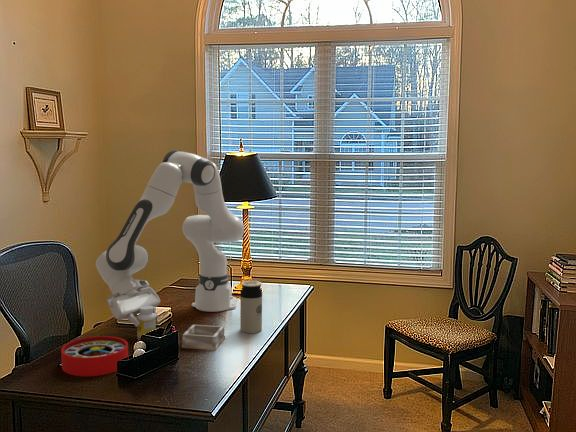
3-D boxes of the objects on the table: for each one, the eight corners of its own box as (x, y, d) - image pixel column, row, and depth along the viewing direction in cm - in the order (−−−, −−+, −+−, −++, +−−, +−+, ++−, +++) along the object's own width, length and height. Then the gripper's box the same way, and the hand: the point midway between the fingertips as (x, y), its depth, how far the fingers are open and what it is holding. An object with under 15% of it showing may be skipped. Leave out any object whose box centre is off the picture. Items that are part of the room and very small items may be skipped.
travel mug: (235, 330, 223) (236, 282, 221) (251, 325, 229) (251, 279, 226) (250, 335, 218) (251, 286, 215) (266, 330, 223) (266, 283, 221)
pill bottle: (138, 336, 215) (138, 304, 213) (157, 335, 215) (156, 304, 214) (135, 342, 208) (135, 309, 207) (154, 342, 209) (154, 309, 207)
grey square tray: (192, 336, 215) (192, 324, 215) (225, 338, 213) (225, 326, 213) (181, 347, 204) (181, 334, 203) (215, 350, 202) (215, 337, 201)
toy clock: (95, 332, 201) (141, 342, 192) (96, 349, 202) (141, 360, 192) (46, 350, 184) (94, 362, 174) (47, 368, 184) (94, 382, 175)
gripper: (109, 292, 204) (131, 324, 200) (150, 279, 221) (171, 309, 218) (100, 302, 206) (121, 335, 203) (141, 290, 224) (162, 319, 221)
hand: (147, 321), depth 211 cm, fingers open, 7 cm apart
